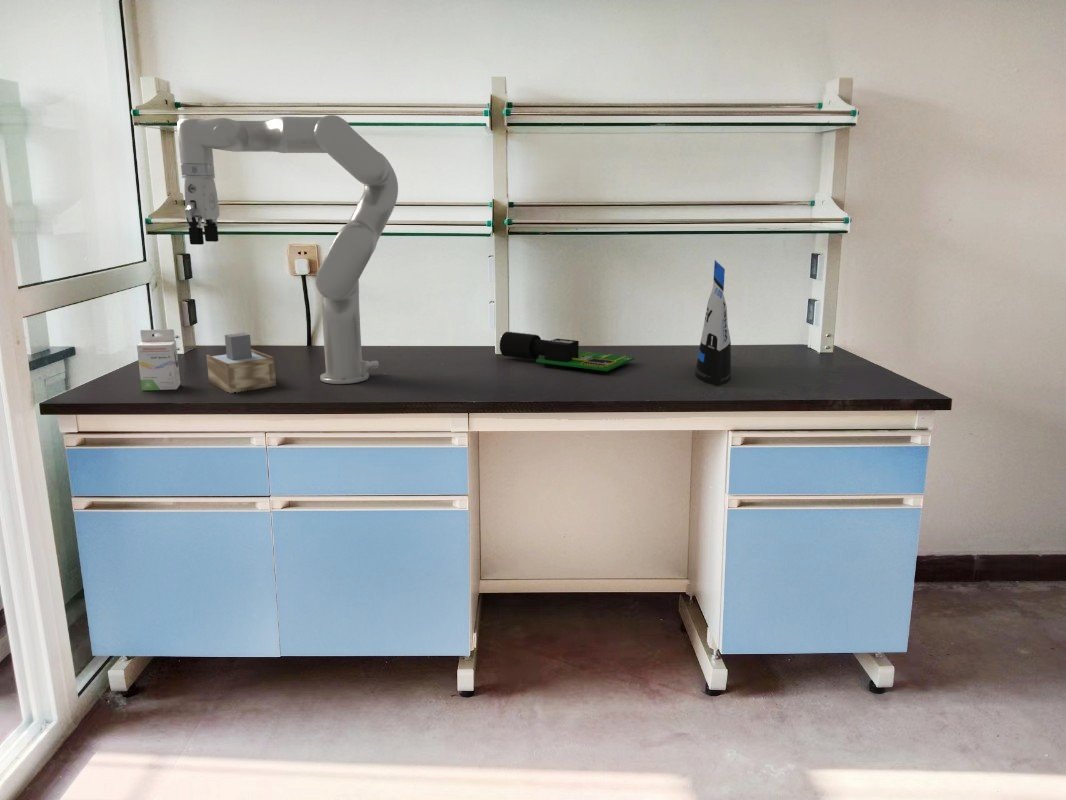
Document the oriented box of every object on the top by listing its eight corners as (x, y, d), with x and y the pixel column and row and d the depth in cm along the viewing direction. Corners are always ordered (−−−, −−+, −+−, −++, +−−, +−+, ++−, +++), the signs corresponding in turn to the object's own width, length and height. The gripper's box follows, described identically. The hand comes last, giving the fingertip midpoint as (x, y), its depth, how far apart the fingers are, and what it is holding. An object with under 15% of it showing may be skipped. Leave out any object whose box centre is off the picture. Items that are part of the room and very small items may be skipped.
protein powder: (725, 366, 235) (732, 260, 227) (736, 387, 211) (744, 269, 204) (691, 365, 236) (697, 259, 228) (698, 386, 212) (705, 269, 205)
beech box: (253, 376, 223) (251, 348, 221) (276, 385, 213) (273, 357, 211) (209, 383, 215) (206, 355, 214) (230, 393, 205) (227, 363, 203)
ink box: (140, 391, 208) (133, 333, 204) (145, 386, 212) (138, 329, 208) (177, 389, 209) (170, 332, 205) (181, 384, 214) (175, 328, 210)
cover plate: (248, 354, 221) (246, 329, 219) (269, 362, 211) (267, 336, 210) (210, 360, 214) (207, 333, 213) (230, 368, 205) (227, 341, 203)
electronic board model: (635, 336, 236) (607, 346, 221) (634, 364, 238) (606, 376, 223) (529, 325, 253) (496, 334, 239) (529, 351, 256) (496, 361, 241)
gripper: (199, 171, 194) (206, 245, 198) (226, 172, 211) (231, 240, 215) (167, 171, 194) (175, 245, 198) (196, 172, 211) (202, 240, 215)
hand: (204, 242), depth 207 cm, fingers open, 9 cm apart
